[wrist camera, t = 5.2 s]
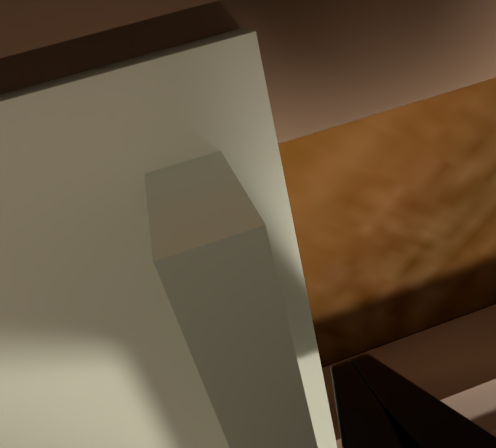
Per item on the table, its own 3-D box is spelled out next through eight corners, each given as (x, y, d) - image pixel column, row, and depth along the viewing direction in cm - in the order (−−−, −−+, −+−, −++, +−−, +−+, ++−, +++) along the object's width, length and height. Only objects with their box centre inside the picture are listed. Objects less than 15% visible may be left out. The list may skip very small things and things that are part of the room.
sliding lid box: (557, 345, 17) (654, 424, 14) (57, 537, 15) (38, 681, 12) (663, -183, 9) (948, -278, 6) (-370, 73, 7) (-775, 134, 4)
